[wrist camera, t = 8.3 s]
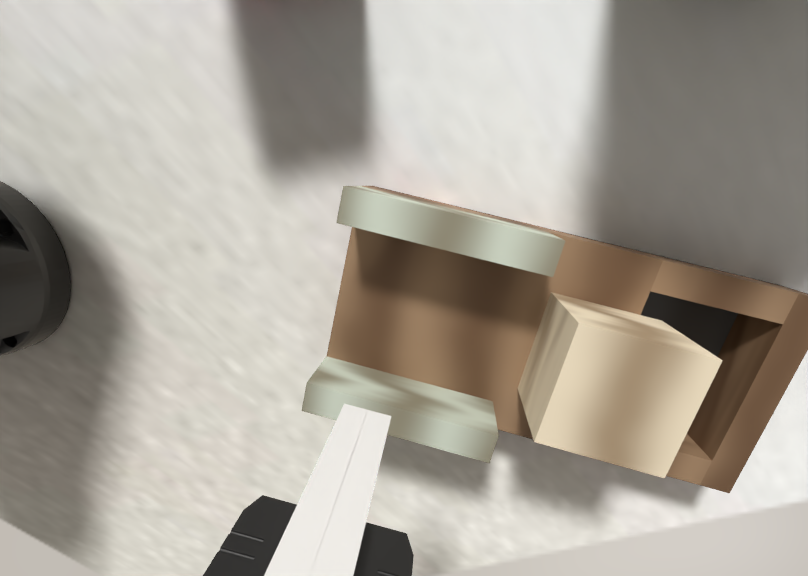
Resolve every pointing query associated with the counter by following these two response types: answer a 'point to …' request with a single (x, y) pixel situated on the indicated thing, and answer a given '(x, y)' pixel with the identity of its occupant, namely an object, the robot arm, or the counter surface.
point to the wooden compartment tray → (531, 327)
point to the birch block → (613, 384)
